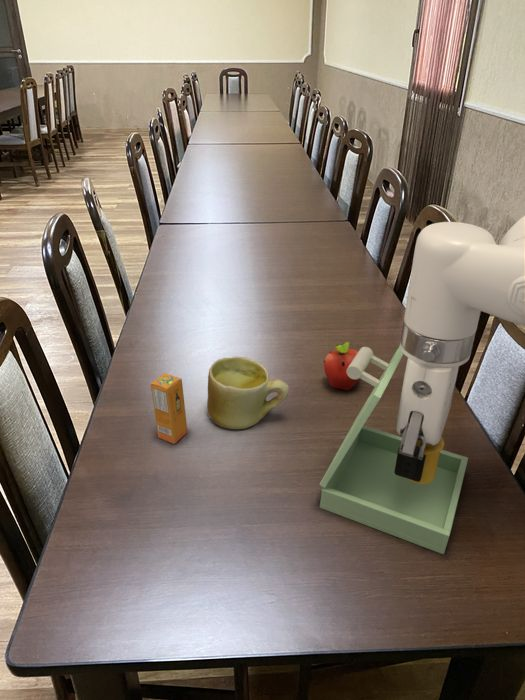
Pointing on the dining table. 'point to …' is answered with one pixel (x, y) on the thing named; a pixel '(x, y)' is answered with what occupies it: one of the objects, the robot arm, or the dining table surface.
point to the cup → (430, 461)
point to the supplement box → (169, 407)
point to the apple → (340, 366)
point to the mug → (241, 392)
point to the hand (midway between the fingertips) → (412, 462)
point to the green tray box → (395, 491)
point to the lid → (380, 385)
